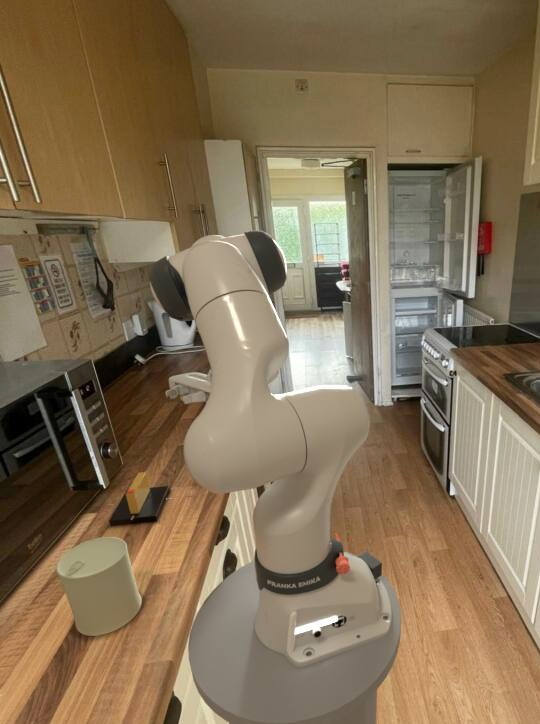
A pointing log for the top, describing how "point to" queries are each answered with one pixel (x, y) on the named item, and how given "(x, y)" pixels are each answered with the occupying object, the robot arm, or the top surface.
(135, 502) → the lock turn
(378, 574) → the robot arm
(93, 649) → the top surface
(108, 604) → the can
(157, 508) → the lock plate
